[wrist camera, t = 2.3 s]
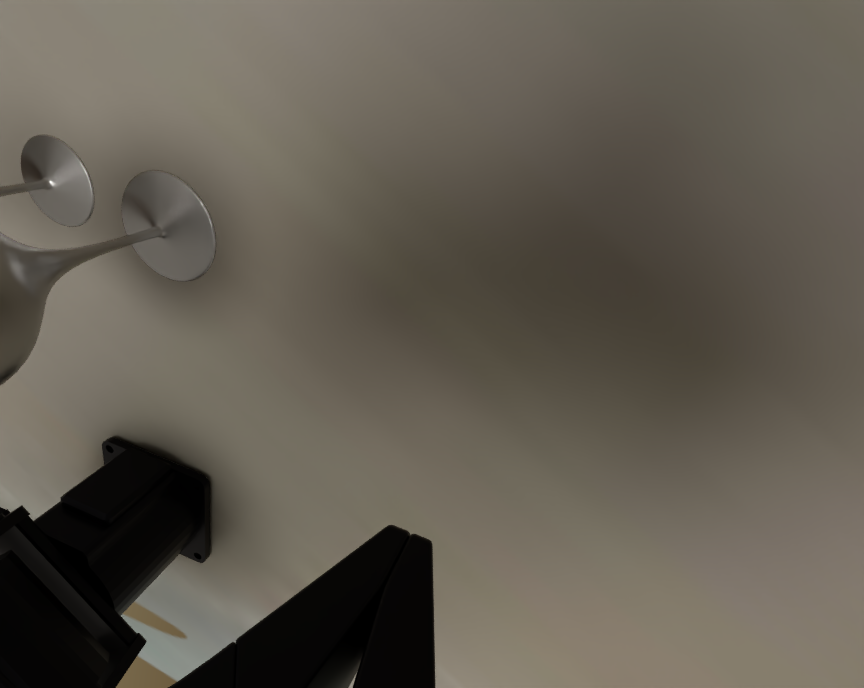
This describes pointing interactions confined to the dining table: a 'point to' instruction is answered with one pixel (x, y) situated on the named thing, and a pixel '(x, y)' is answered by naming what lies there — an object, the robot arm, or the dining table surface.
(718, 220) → the dining table surface
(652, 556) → the dining table surface
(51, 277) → the goblet set
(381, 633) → the robot arm
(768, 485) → the dining table surface
